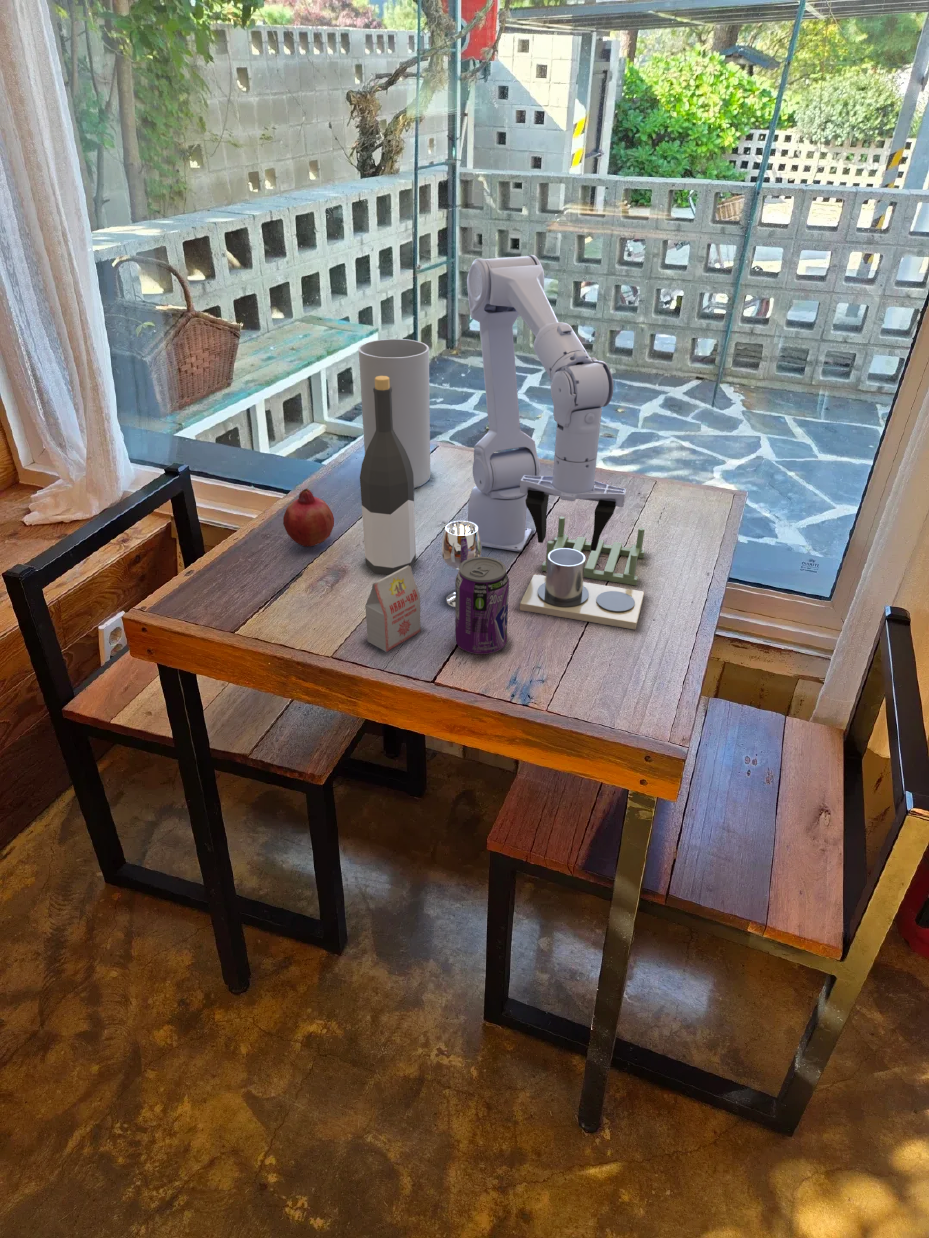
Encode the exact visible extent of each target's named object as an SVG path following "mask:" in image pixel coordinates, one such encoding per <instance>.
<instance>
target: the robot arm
mask: <svg viewBox="0 0 929 1238" xmlns="http://www.w3.org/2000/svg"><path fill="white" fill-rule="evenodd" d="M466 287H467V295H468V297H467V298H468V308H469V313H470V319H472V320H474V321H476V322H478V323H479V331H480V334H479V335H480V344H481V355H482V365H483V378H484V390H485V400H486V411H487V423H488V431H487V433H486V434H484V435H483V437H481V439H480V440H479V441H478V442H477V443H476V444H475V445H474V446H473V463H472V477H473V481H474V484H475V485H474V486H473V488H472V489H471V492H470V494H469V498H468V505H467V508H468V509H467V521H468V522H472V523H474V524H476V525H477V527H478V530H479V534H480V538H481V547H486V548H491V549H492V548H493V549H499V550H505V551H512V552H520V553H521V552H522V551H523V549H524V547H525V545H526V543H527V542H528V539H529V537H530V536H531V534H532V528H528V527H527V526H526V525H527V510H528V511H529V513H530V516H531V518H532V520H533V524H534V526H535V530H536V537H537V542H538V543H540V544H543V543H544V541H545V539H546V536H547V515H548V505H549V504H548V503H549V499H550V496H554V497H559V499H560V500H561V501H567V502H574V501H576V500H582V501H591V502H597V504H596V506H595V509H594V519H593V533H592V538H591V542H592V543H591V550H592V551H596V549H597V546H598V542H599V540H600V538H601V535H602V533H603V531H604V529H605V528H606V526H607V524H608V523H609V521H610V520H611V518H612V516H613V515H614V513H615V511H616V507H619V508H624V506H625V503H626V498H627V490H628V489H627V488H625V487H618V486H615V485H611V484H607V483H604V482H601V481H597V480H596V471H597V470H596V469H597V461H598V460H597V459H598V451H599V440H600V433H601V421H602V414H603V413H602V412H603V408H605V407H608V405H609V404H610V402H611V401H612V400H613V399H612V398H613V395H614V389H615V386H614V385H615V384H614V378H613V374H612V372H611V369H610V367H609V365H608V364H607V362H605V361H604V360H598V359H597V358H596V357H591V356H590V354H589V353H588V352H587V350H586V348H585V347H584V345H583V343H582V342H581V341H580V339H579V336H578V335H577V334H576V332H575V331H574V329H573V327H572V326H571V325H570V324H569V323H567V322H563V321H558V317H557V316H556V313H555V312H554V309H553V307H552V306H551V303H550V301H549V299H548V296H547V294H546V293H545V291H544V289H545V270H544V268H543V266H542V263H541V261H540V259H539V258H538V257H537V256H536V255H535V254H527V255H525V256H524V255H523V256H510V257H496V258H494V257H493V258H482V257H481V258H480V257H479V258H475V259H474V260H473V261H472V263H471V265H470V266H469V269H468V274H467V277H466ZM519 317H520V318H521V319H522V320H523V322H524V324H525V325H526V326H527V327H528V329H529V330H530V332H531V333H532V334H533V336H534V337H535V339H534V342H533V351H534V353H535V355H536V357H537V359H538V361H540V364H541V365H542V367H543V369H544V370H545V372H546V374H547V376H548V378H549V379H550V381H551V382H550V396H551V400H552V404H553V411H552V413H553V414H552V415H553V420H554V422H556V429H555V444H554V456H553V468H552V469H553V470H552V475H541V462H540V458H539V456H538V452H537V447H536V446H537V445H536V441H535V439H533V438H532V437H531V436H530V435H528V434H527V433H526V432H524V431H522V430H521V423H520V422H521V420H520V407H519V395H518V382H517V381H518V380H517V369H516V368H517V367H516V353H515V342H514V330H513V327H514V324H515V323H516V321H517V319H518V318H519Z"/></svg>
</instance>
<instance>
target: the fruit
mask: <svg viewBox="0 0 929 1238" xmlns="http://www.w3.org/2000/svg"><path fill="white" fill-rule="evenodd" d="M282 525H283V527H284V530H285V531H286V532H285V533H286V534H287V535H288V536H289V538H290V539H291V540H292V541H293V542H295V543H297V544H298V545H299V546H301V547H304V548H305V547H306V548H308V547H314V546H317V545H319V544H321V543H323V542H324V541H326V540H327V539H329V537H331V534H332V532H333V529H334V527H335V516H334V513H333V511H332V510H331V508H330V506H329V505H328V503H327V502H326V501H325V500H324V499H322V498H320V497H317V496H314V494H313V493H312V491H311V490H310V489H309V488H304V489H302V490H301V491H300V493H299V495H298V498H296V499H294V500H293V501H292V502H290V503H289V504H288V506H287V507H286V509H285V512H284V514H283V519H282Z"/></svg>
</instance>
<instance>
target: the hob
mask: <svg viewBox="0 0 929 1238" xmlns="http://www.w3.org/2000/svg"><path fill="white" fill-rule="evenodd" d="M545 585H546V575H542V574H536V573H534V574H532V577H531V579H530V582H529V583H528V585H527V587H526V590H525V592H524V594H523V596H522V598H521V600H520V602H519V611H523V612H529V613H536V614H541V615H548V616H553V617H559V618H565V619H571V620H577V621H580V622H581V621H583V622H587V623H588V622H589V623H593V624H599V625H605V626H610V627H611V626H612V627H617V628H624V629H629V630H633V631H635V630H637V627H638V623H639V619H640V615H641V610H642V606H643V602H644V599H645V597H644V596H645V591H642V590H636V589H630V588H625V587H624V588H623V587H617V586H611V585H605V584H598V583H592V582H586V581H583V590H582V596H581V597H580V598H579V599H577V600H575V601H571V602H560V601H556V600H553V599H551V598H549V597H548V596H547V595H546V593H545Z"/></svg>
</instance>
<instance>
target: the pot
mask: <svg viewBox="0 0 929 1238" xmlns="http://www.w3.org/2000/svg"><path fill="white" fill-rule="evenodd" d="M586 560H587V559H586V555H585V554H584V553H583V552H580V551H577V550H575V549H573V548H570V547H564V548H560V549H555V550H552V551H551V552H550V553H549V554H548V557H547V571H545V576H546V585H545V593H546V595H547V596H548V597H549V598H551V599H553V600H556V601H560V602H571V601H575V600H577V599H579V598H580V597H581V596H582V590H583V582H585V581H584V580H585V579H584V578H585V577H584V571H585V566H586V562H587V561H586Z"/></svg>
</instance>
